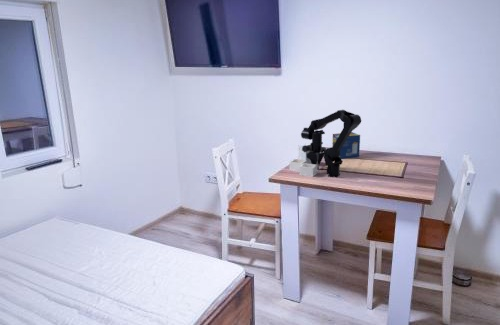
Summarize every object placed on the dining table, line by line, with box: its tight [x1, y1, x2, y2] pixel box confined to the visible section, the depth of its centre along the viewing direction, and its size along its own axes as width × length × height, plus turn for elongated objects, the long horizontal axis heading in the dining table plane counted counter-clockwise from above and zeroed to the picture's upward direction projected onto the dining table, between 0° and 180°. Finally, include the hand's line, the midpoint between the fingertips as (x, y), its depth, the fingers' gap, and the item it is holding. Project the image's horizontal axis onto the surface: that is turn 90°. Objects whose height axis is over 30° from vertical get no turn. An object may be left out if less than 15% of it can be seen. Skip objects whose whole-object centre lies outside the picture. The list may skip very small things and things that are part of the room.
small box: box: [297, 143, 312, 164], centre depth 234 cm, size 8×6×13 cm
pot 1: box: [289, 158, 307, 172], centre depth 224 cm, size 8×8×6 cm
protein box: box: [331, 131, 361, 160], centre depth 253 cm, size 10×15×16 cm
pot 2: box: [298, 163, 318, 178], centre depth 214 cm, size 8×8×6 cm
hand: (316, 166), depth 223 cm, fingers open, 9 cm apart
